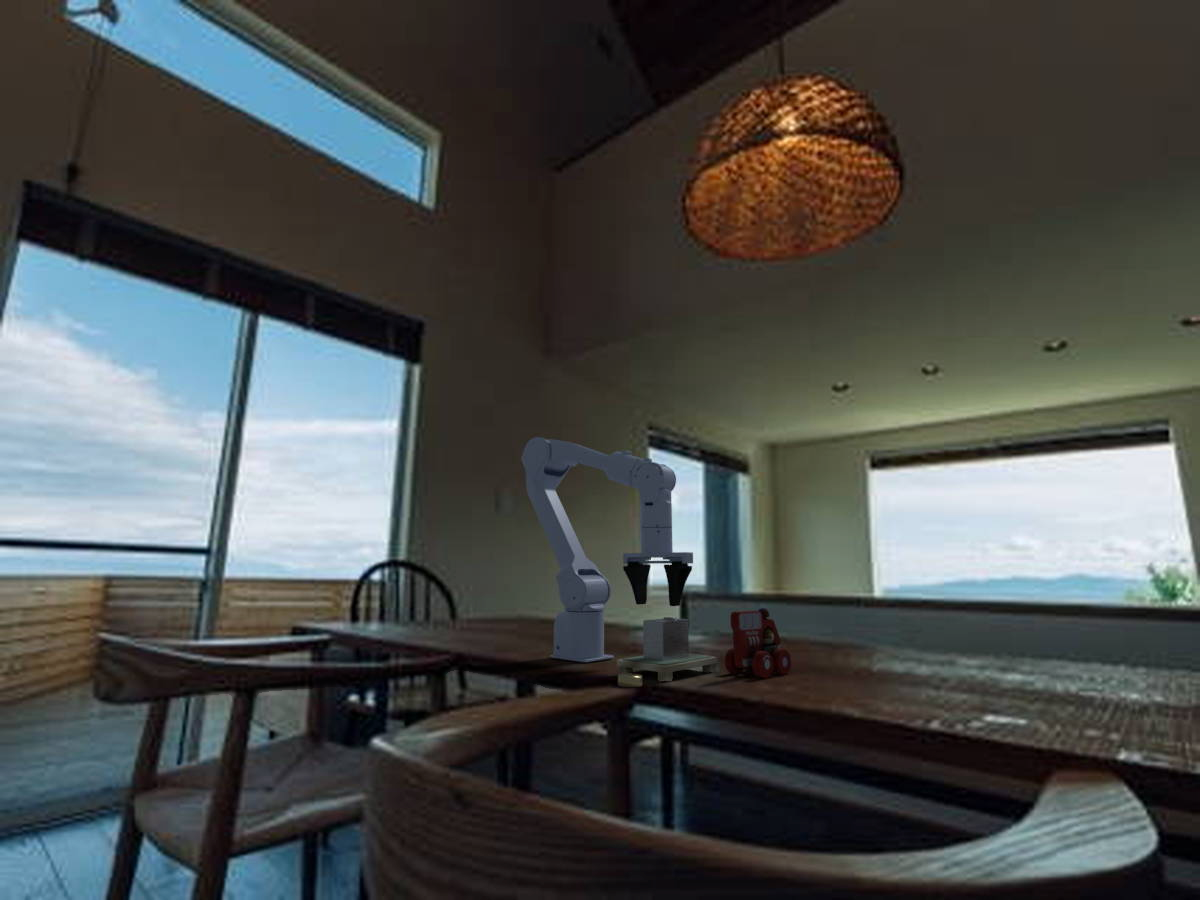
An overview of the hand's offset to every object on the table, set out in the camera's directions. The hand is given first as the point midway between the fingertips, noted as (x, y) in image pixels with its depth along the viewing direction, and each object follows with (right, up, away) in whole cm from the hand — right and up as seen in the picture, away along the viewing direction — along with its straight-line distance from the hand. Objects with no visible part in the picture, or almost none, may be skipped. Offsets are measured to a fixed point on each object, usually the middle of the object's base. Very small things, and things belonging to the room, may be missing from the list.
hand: (657, 605), depth 116 cm
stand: (+1, -9, -9) cm, 13 cm away
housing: (+1, -6, -9) cm, 11 cm away
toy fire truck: (+16, -9, -10) cm, 21 cm away
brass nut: (-6, -7, -19) cm, 22 cm away
